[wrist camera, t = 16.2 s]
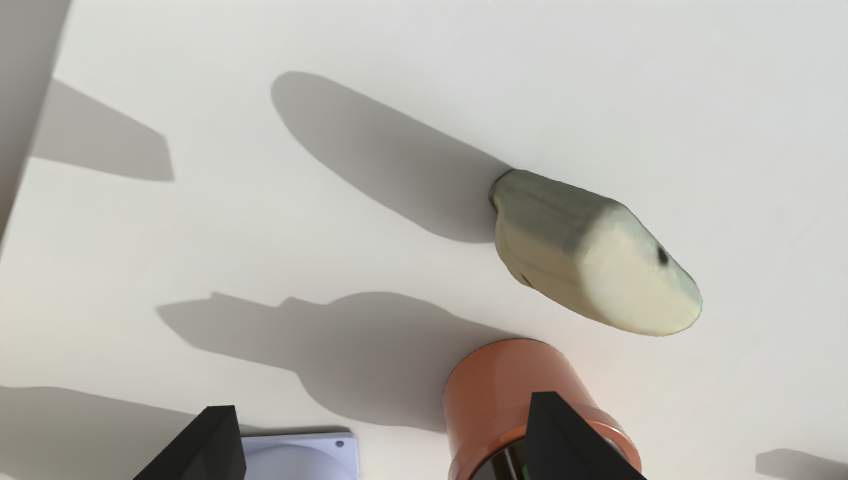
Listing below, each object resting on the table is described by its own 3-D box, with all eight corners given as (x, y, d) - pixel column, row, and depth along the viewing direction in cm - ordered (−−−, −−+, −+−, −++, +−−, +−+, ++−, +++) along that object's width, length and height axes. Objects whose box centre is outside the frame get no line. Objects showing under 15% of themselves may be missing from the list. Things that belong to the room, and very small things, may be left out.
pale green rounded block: (610, 168, 19) (759, 223, 11) (580, 267, 20) (690, 371, 13) (494, 153, 18) (570, 201, 10) (473, 257, 20) (525, 361, 12)
